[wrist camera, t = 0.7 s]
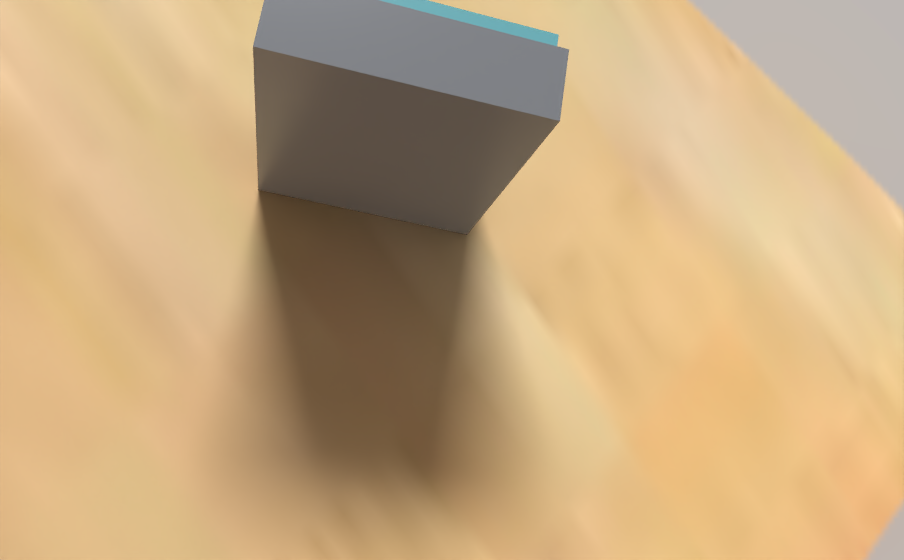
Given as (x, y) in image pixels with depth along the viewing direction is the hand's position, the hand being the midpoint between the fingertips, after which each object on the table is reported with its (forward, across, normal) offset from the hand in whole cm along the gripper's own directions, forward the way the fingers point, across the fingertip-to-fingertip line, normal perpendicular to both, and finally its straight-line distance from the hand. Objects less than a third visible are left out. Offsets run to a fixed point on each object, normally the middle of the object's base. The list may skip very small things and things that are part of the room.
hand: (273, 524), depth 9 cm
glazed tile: (+15, +1, +4) cm, 16 cm away
